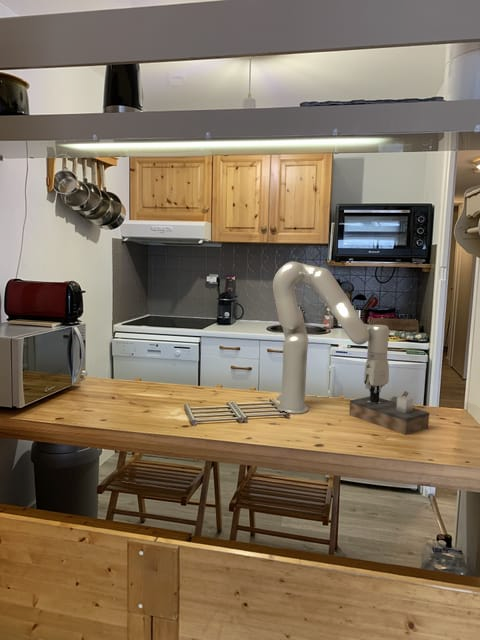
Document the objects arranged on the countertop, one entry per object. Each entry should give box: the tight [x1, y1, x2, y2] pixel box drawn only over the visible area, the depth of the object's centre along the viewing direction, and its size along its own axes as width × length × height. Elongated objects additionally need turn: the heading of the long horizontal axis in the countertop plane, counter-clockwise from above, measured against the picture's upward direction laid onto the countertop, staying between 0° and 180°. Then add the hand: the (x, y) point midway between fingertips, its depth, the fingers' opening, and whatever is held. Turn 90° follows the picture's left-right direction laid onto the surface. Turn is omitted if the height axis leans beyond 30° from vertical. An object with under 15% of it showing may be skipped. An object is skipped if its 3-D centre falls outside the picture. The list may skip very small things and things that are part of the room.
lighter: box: [389, 390, 410, 403], centre depth 203 cm, size 7×2×8 cm, turn 78°
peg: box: [396, 395, 414, 414], centre depth 180 cm, size 4×4×6 cm
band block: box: [348, 396, 430, 436], centre depth 186 cm, size 26×14×6 cm, turn 36°
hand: (374, 401), depth 191 cm, fingers closed
